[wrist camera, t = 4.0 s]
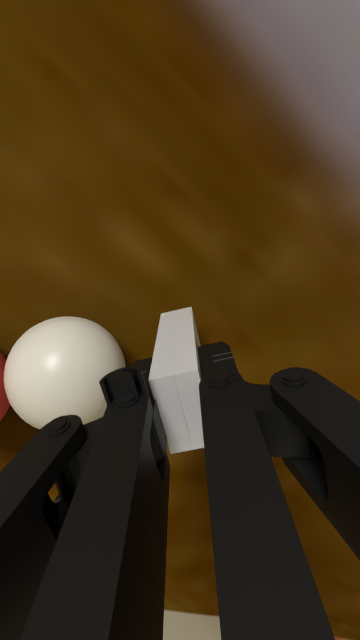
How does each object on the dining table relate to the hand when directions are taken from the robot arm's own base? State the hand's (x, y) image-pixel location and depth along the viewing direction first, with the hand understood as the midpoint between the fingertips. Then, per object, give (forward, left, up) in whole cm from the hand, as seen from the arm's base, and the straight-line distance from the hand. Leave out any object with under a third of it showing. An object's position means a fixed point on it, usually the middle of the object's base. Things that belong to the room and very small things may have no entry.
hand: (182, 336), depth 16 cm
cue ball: (+6, 0, +1) cm, 6 cm away
